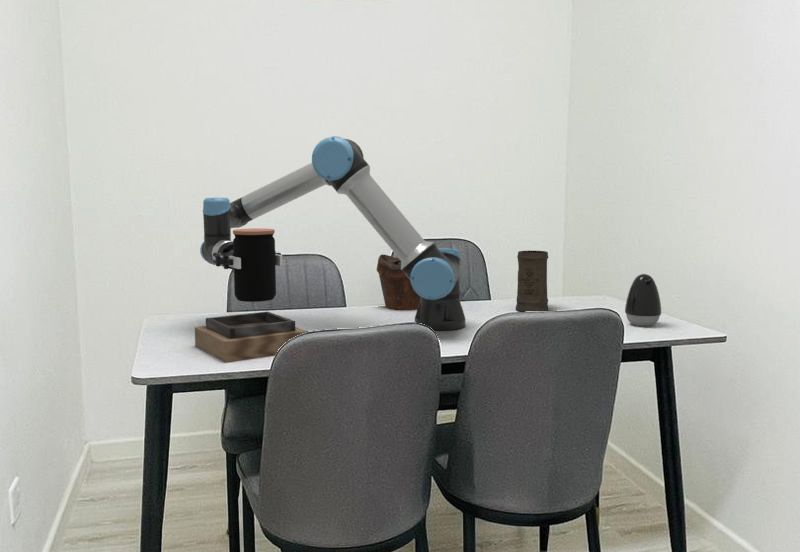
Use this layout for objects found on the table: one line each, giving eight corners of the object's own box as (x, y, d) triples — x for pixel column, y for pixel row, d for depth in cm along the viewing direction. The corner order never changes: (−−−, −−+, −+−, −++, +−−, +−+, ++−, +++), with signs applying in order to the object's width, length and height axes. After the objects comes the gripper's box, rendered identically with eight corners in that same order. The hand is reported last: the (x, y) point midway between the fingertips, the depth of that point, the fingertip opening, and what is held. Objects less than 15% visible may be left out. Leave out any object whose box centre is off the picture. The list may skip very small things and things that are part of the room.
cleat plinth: (272, 335, 212) (271, 309, 211) (308, 350, 193) (307, 321, 193) (195, 345, 200) (194, 317, 199) (225, 362, 181) (224, 331, 180)
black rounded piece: (632, 328, 219) (633, 276, 217) (619, 322, 229) (621, 272, 227) (666, 328, 219) (668, 276, 217) (652, 321, 229) (654, 271, 227)
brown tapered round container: (442, 309, 252) (441, 255, 250) (384, 313, 247) (383, 258, 245) (425, 302, 269) (424, 251, 267) (370, 305, 264) (369, 254, 262)
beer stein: (548, 313, 243) (549, 251, 242) (514, 312, 245) (515, 251, 244) (548, 309, 258) (550, 250, 257) (516, 308, 260) (518, 249, 259)
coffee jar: (256, 294, 205) (255, 227, 202) (284, 298, 198) (283, 229, 196) (225, 299, 196) (223, 230, 194) (254, 303, 190) (252, 231, 187)
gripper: (268, 265, 217) (302, 273, 199) (189, 270, 205) (217, 280, 187) (268, 239, 217) (301, 245, 198) (188, 243, 204) (216, 249, 186)
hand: (260, 262), depth 192 cm, fingers closed on coffee jar, 11 cm apart
